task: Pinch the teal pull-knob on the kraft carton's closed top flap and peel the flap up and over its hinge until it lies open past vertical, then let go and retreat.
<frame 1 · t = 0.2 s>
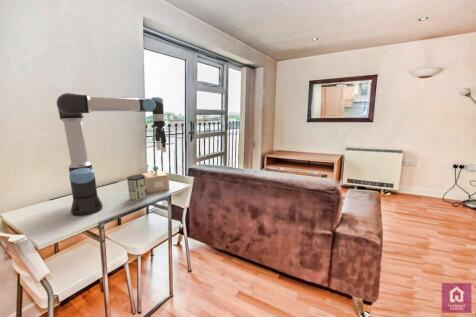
hand: (161, 151, 169), 27 cm above the table, fingers open, 13 cm apart
carton: (155, 188, 174), on the table
coffee can: (138, 198, 155), on the table
flap: (158, 170, 174), point 13 cm above the table, hinge at 0.0°
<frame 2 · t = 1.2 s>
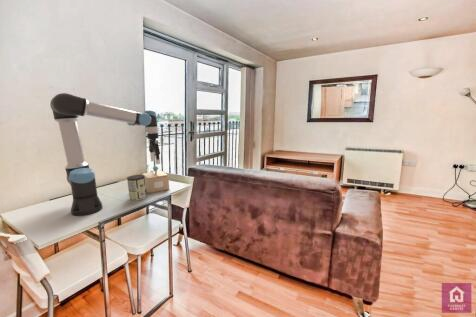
hand: (155, 162, 172), 19 cm above the table, fingers open, 13 cm apart
nothing on the table moved.
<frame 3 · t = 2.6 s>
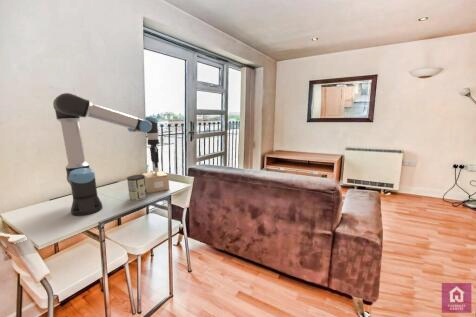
hand: (155, 171, 173), 13 cm above the table, fingers closed on flap, 4 cm apart
flap: (158, 170, 174), point 13 cm above the table, hinge at 0.0°, touching gripper
everything else where it was.
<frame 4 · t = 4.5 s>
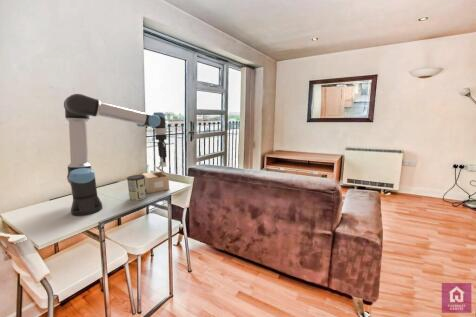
hand: (163, 166, 175), 16 cm above the table, fingers closed on flap, 4 cm apart
flap: (162, 166, 175), point 15 cm above the table, hinge at 45.3°, touching gripper
everything else where it was.
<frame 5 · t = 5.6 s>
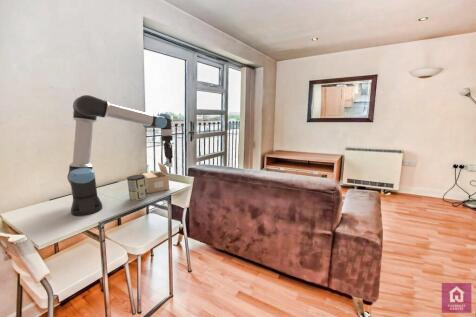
hand: (169, 166, 178), 15 cm above the table, fingers closed on flap, 4 cm apart
flap: (166, 166, 177), point 15 cm above the table, hinge at 76.9°, touching gripper
everything else where it was.
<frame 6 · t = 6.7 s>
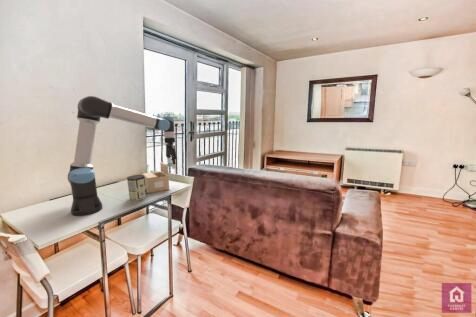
hand: (171, 167, 179), 14 cm above the table, fingers open, 9 cm apart
flap: (168, 167, 177), point 14 cm above the table, hinge at 93.2°
everything else where it was.
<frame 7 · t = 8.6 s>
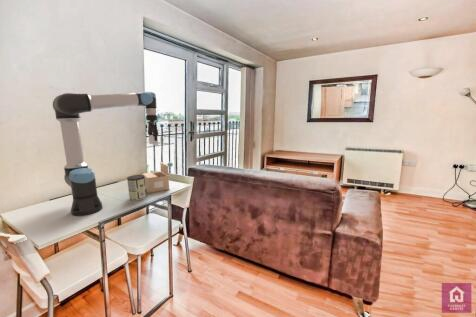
hand: (153, 144, 172), 32 cm above the table, fingers open, 13 cm apart
nothing on the table moved.
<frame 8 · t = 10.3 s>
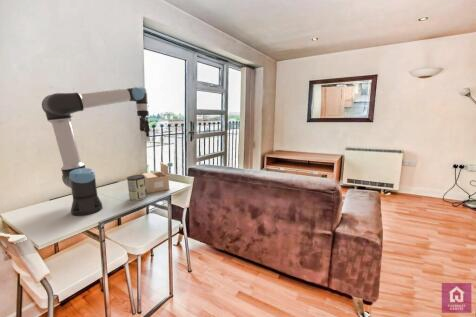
hand: (145, 140, 171), 35 cm above the table, fingers open, 13 cm apart
nothing on the table moved.
at the end: flap at +93° (first picture: +0°); the gripper is holding nothing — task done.
